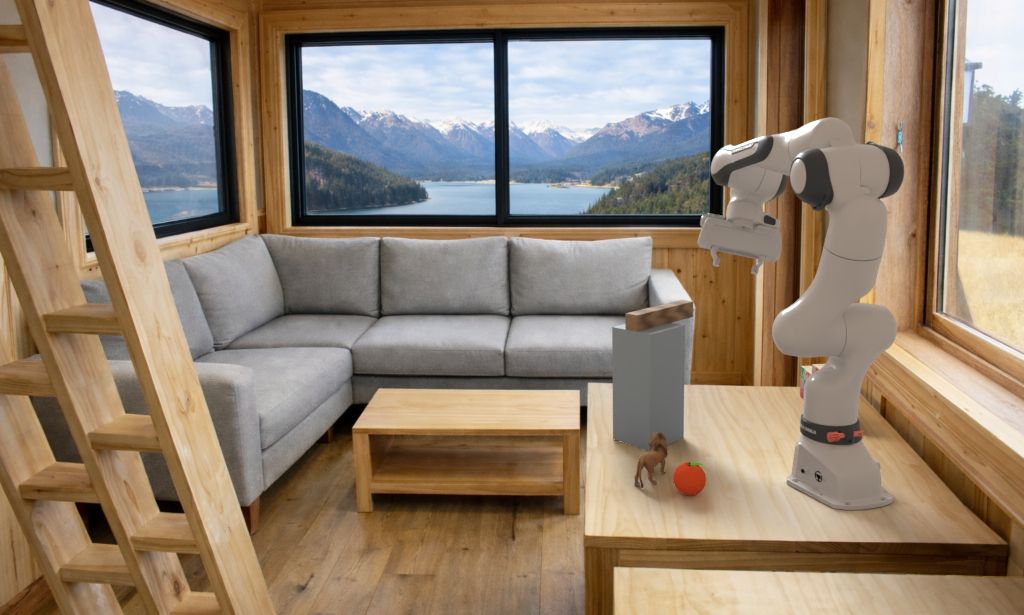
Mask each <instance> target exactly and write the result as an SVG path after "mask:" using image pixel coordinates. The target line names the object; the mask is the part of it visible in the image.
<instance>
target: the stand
mask: <svg viewBox="0 0 1024 615" xmlns="http://www.w3.org/2000/svg"><path fill="white" fill-rule="evenodd" d="M611 328H612V329H611V334H612V335H611V337H612V341H611V342H612V347H611V348H612V349H611V351H612V353H611V354H612V355H611V356H612V360H611V361H612V440H613V439H615V440H614V441H616V440H618V441H617V442H619V441H622V442H624V443H623V444H625V443H627V444H626V445H629V444H630V446H632V447H635V446H636V447H635V448H638V449H641V450H645V451H648V452H650V446H649V444H648V443H647V439H649V438H650V437H651V435H652V434H653V433H654V432H661V433H662V434H663V435H664V436H665V437H666V441H667V446H668V445H670V444H672V443H674V442H678V441H680V440H682V439H684V435H685V434H684V432H685V430H684V426H685V424H684V423H685V422H684V421H685V356H686V355H685V351H686V350H685V348H686V346H685V344H686V343H685V340H686V337H685V336H686V335H685V334H686V325H685V324H680V323H675V322H672V323H668V324H664V325H661V326H657V327H653V328H649V329H646V330H642V331H638V332H635V331H630V330H625V323H623V324H620V325H619V324H618V325H615V326H612V327H611ZM622 442H621V443H622Z"/></svg>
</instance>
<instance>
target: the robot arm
mask: <svg viewBox="0 0 1024 615" xmlns="http://www.w3.org/2000/svg"><path fill="white" fill-rule="evenodd" d="M709 169H710V170H709V171H710V175H711V177H712V179H713V181H714V182H715V184H716V186H717V185H718V186H721V187H726V188H729V198H730V199H729V202H728V204H727V208H726V211H725V215H720V214H714V213H706V214H703V215H702V216H701V217H700V221H699V225H700V228H701V229H700V232H699V235H698V238H697V245H698V247H699V248H701V249H706V250H710V256H711V258H712V266H713V267H720V265H721V264H720V263H721V259H722V258H721V257H718V255H717V252H719V253H720V252H721V253H726V254H730V255H735V256H740V257H745V258H750V259H755V260H757V264H753V265H752V267H751V272H750V274H752V275H758V274H759V270H760V267H761V266H763V264H764V262H770V263H775V262H778V260H779V259H780V258H781V255H782V246H783V238H782V233H781V231H780V230H779V229H780V227H781V220H780V219H778V218H776V217H775V216H772V215H770V214H769V213H766V212H765V211H764V209H763V206H764V203H769V202H771V201H772V200H775V199H777V198H778V197H781V195H782V194H783V193H784V192H785V190H786V187H787V185H788V179H789V184H790V188H791V190H792V192H793V194H794V195H796V197H797V198H798V199H799V200H800V201H801V202H802V203H805V204H807V205H810V207H811V209H812V210H813V211H815V212H820V211H822V210H824V209H825V208H826V210H827V213H828V215H829V221H828V227H827V231H826V235H825V237H824V238H825V239H824V242H823V247H822V252H821V256H820V259H819V264H818V267H817V270H816V273H815V276H814V278H813V280H812V282H811V283H810V285H809V286H808V287H807V289H806V290H805V291H804V293H803V294H802V295H801V296H800V297H799V298H798V299H797V300H796V301H795V302H793V303H792V304H791V305H789V306H788V307H786V308H784V309H782V310H781V311H780V312H779V313H778V314H777V316H776V317H775V318H774V320H773V324H772V327H771V328H772V329H771V332H772V333H771V334H772V340H773V342H774V344H775V346H776V348H777V349H778V350H779V352H781V353H782V354H783V355H786V356H792V357H798V358H806V359H808V358H823V357H825V358H826V357H827V358H828V359H827V361H826V362H825V363H824V364H825V365H824V366H823V367H822V368H821V369H819V370H818V371H816V372H814V373H813V374H811V375H810V376H809V377H808V379H807V380H806V382H805V385H804V399H802V400H803V404H802V405H803V406H802V414H801V415H800V419H799V432H800V433H801V434H800V437H799V439H798V442H797V443H796V445H795V447H794V453H793V461H792V465H791V466H792V468H791V474H790V475H789V476H787V478H786V484H787V485H789V486H790V487H793V488H794V489H796V490H798V491H800V492H802V493H804V494H806V495H807V496H810V497H811V498H813V499H815V500H817V501H818V502H821V503H823V504H824V505H826V506H829V507H830V508H833V509H835V510H846V511H847V510H848V511H849V510H850V511H851V510H853V511H854V510H856V511H857V510H858V511H859V510H867V509H875V508H881V507H884V506H888V505H890V504H892V503H893V502H894V496H893V494H891V493H890V492H889V491H888V490H887V489H886V488H885V487H884V486H883V485H882V473H881V463H880V461H878V459H877V460H874V458H873V456H872V455H871V453H870V452H869V449H868V448H867V447H866V446H865V443H864V442H863V436H864V437H865V434H863V433H865V430H862V425H861V423H860V419H859V418H858V417H859V407H860V406H859V404H860V397H861V396H860V395H861V389H862V384H863V381H864V379H865V376H866V374H867V372H868V371H869V369H870V368H871V366H873V365H872V364H873V363H874V361H876V360H877V358H879V356H880V355H881V354H883V353H884V352H886V351H888V349H890V348H891V347H892V345H893V344H894V342H895V340H896V337H897V335H898V334H897V333H898V324H897V320H896V318H895V316H894V314H893V313H892V312H891V310H890V309H889V308H887V307H886V306H884V305H879V304H875V303H874V304H873V303H869V302H868V303H866V302H857V301H858V300H860V299H862V298H864V297H865V296H867V295H868V294H870V292H871V291H872V290H873V288H874V287H875V284H876V282H877V277H878V273H879V269H880V264H881V261H882V257H883V253H884V249H885V245H886V239H887V233H888V232H887V230H888V208H887V206H886V204H885V203H884V202H883V201H882V199H884V198H888V197H891V196H893V195H895V194H896V193H898V191H900V188H901V186H902V184H903V181H904V179H905V178H904V177H905V165H904V160H903V159H902V157H901V156H900V155H899V153H898V151H896V150H895V149H893V148H891V147H888V146H885V145H880V144H877V143H875V142H874V141H871V140H869V141H867V142H866V143H863V144H861V143H858V142H856V140H855V139H854V134H853V131H852V129H851V127H850V125H849V124H848V123H846V122H845V121H844V120H842V119H840V118H837V117H824V118H819V119H817V120H813V121H810V122H807V123H806V124H804V125H802V126H800V127H799V128H796V129H793V130H790V131H786V132H781V133H776V134H771V135H770V134H769V135H763V136H762V135H761V136H758V137H755V138H753V139H750V140H747V141H744V142H743V143H739V144H737V145H735V144H731V143H729V144H727V145H725V146H723V147H721V148H720V149H718V150H717V152H716V153H715V154H714V156H713V158H712V161H711V164H710V168H709Z"/></svg>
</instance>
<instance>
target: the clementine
mask: <svg viewBox="0 0 1024 615" xmlns="http://www.w3.org/2000/svg"><path fill="white" fill-rule="evenodd" d="M702 466H703V467H704V468H705V467H706V465H705V464H702V463H700V462H695V461H694V462H691V461H686V462H683V463H681V464H679V465H678V466H677V467H676V468H675V469H674V472H673V475H672V481H673V484H674V487H675V488H676V490H677V491H678V492H680V493H681V494H682V495H684V496H696V495H698V494H700V493H701V492H702V491H703V490H704V489H705V487H706V484H707V474H706V472H705V470H704V468H702ZM706 468H707V467H706ZM707 470H708V471H709V473H711V471H710V470H709V468H707Z"/></svg>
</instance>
